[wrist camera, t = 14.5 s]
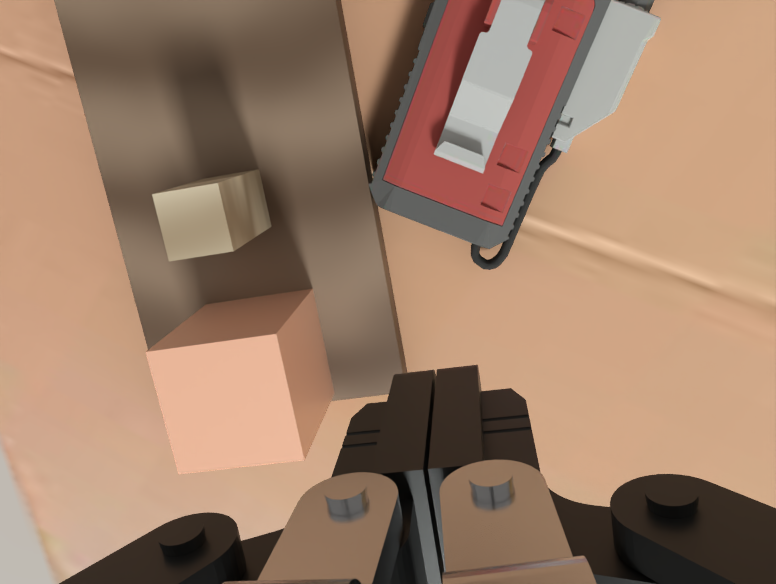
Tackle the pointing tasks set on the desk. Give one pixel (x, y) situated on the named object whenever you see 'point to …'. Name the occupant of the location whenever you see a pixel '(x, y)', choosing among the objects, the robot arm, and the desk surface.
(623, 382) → the desk surface
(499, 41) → the walkie-talkie
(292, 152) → the board
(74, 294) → the desk surface
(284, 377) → the peach cube
